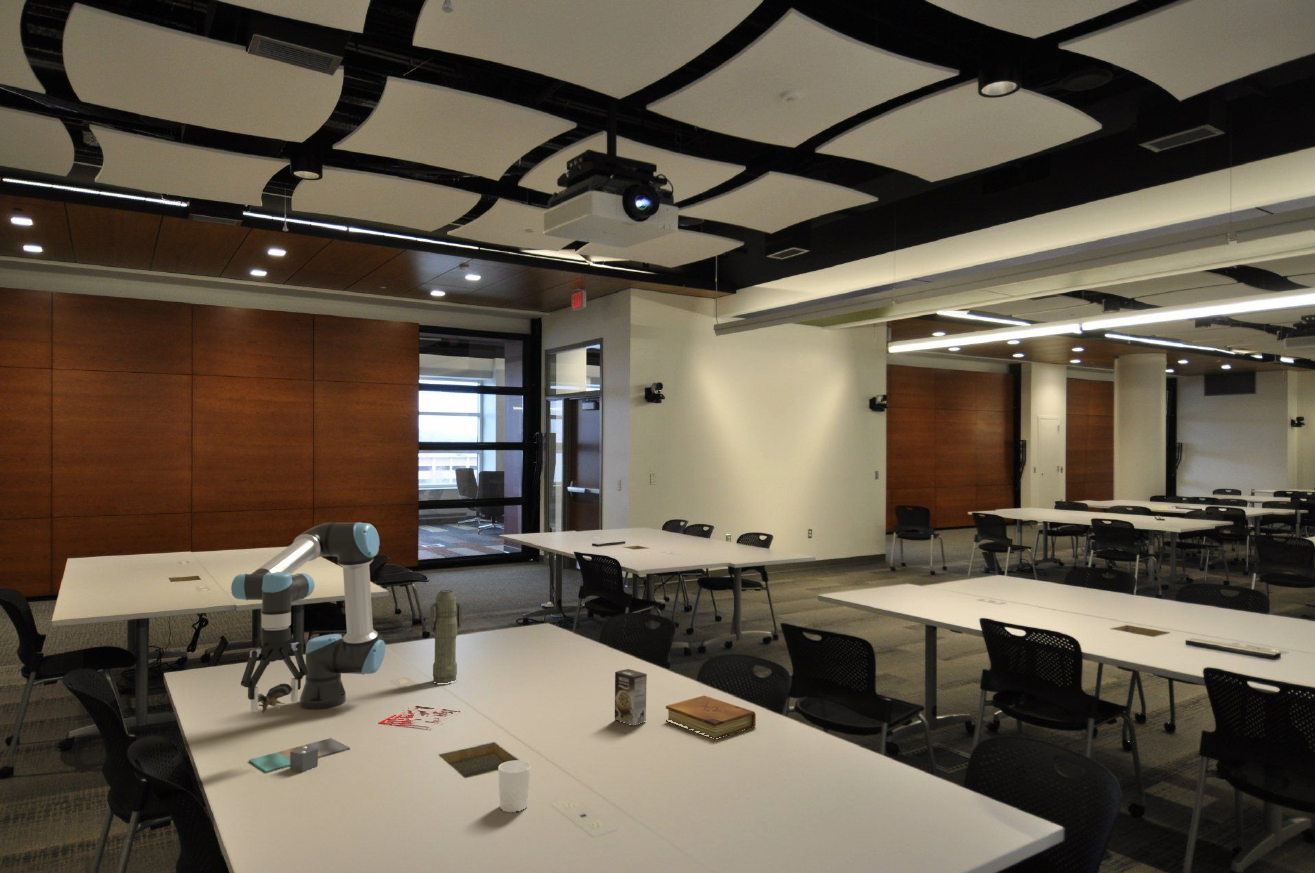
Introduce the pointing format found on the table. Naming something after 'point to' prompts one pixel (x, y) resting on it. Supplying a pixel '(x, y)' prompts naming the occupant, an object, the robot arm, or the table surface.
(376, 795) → the table surface
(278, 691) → the dark olive curved figure
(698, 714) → the diary
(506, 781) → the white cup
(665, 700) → the table surface
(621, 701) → the coffee box
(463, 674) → the table surface
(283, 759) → the track board
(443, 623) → the thermos
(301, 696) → the robot arm
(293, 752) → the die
